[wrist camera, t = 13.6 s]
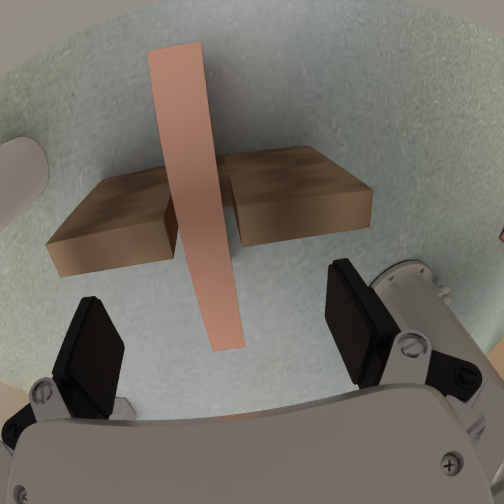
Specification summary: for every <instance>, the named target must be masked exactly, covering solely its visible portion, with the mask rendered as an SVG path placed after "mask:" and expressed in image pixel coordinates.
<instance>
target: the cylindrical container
mask: <svg viewBox="0 0 504 504" xmlns="http://www.w3.org/2000/svg"><path fill="white" fill-rule="evenodd" d="M48 175H49V167H48V161H47V158H46V155H45V153H44V151H43V149H42V148H41V146H40V145H39V144H38V143H37V142H36V141H35V140H33V139H31V138H29V137H18V138H15V139H12V140H10V141H8V142H5V143H3V144H1V145H0V232H1V231H2V230H3V229H4V228H5V227H6V226H7V225H8V224H9V223H10V222H11V221H12V220H13V219H14V218H15V217H16V216H17V215H18V214H20V213H21V212H22V211H23V210H24V209H25V208H26V207H27V206H28V205H29V204H31V203H32V202H33V201H34V200H35V199H36V198H37V197H39V196H40V195H41V193H42V192H43V191H44V189H45V187H46V184H47V181H48Z"/></svg>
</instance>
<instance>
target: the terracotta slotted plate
mask: <svg viewBox="0 0 504 504" xmlns="http://www.w3.org/2000/svg"><path fill="white" fill-rule="evenodd" d="M147 53H148V61H149V69H150V77H151V84H152V91H153V98H154V104H155V110H156V117H157V123H158V128H159V134H160V140H161V145H162V151H163V156H164V161H165V166H166V171H167V176H168V181H169V186H170V191H171V195H172V200H173V204H174V209H175V213H176V218H177V222H178V226H179V230H180V235H181V239H182V243H183V247H184V251H185V255H186V259H187V263H188V267H189V270H190V274H191V278H192V282H193V285H194V289H195V293H196V296H197V300H198V303H199V307H200V310H201V314H202V317H203V321H204V324H205V327H206V331H207V334H208V337H209V341H210V344H211V347H212V350H213V352H215V351H222V350H228V349H235V348H241V347H245V341H244V335H243V330H242V324H241V318H240V312H239V306H238V300H237V294H236V288H235V282H234V275H233V269H232V263H231V257H230V250H229V244H228V238H227V231H226V225H225V218H224V211H223V206H222V199H221V192H220V185H219V178H218V171H217V164H216V157H215V149H214V142H213V134H212V127H211V119H210V112H209V104H208V96H207V88H206V80H205V71H204V63H203V56H202V48H201V42H194V43H188V44H182V45H177V46H172V47H167V48H162V49H157V50H153V51H149V52H147Z"/></svg>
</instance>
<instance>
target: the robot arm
mask: <svg viewBox="0 0 504 504" xmlns="http://www.w3.org/2000/svg"><path fill="white" fill-rule="evenodd" d="M449 292H450V287H449V285H444V286H441V287H439V288H438V287H437V286H436V285H435V284H434V283H433V276H432V273H431V271H430V269H429V268H428V267H427V266H426V265H425V264H423V263H422V262H419V261H407V262H403V263H400V264H398V265H395V266H394V267H392V268H390V269H388V270H387V271H386V272H384V273H383V274H382V275H381V276H380V277H379V278H378V279H376V280H375V282H374V283H373V284H372V285H371V286H368V287H367V285H366V284H365V282H364V281H363V279H362V278H361V276H360V275H359V273H358V272H357V271H356V269H355V268H354V266H353V265H352V263H351V262H350V261H349V259H348V258H343V259H338V260H334V261H333V262H332V264H330V265H329V267H328V281H327V294H326V306H325V319H326V322H327V324H328V327H329V329H330V331H331V333H332V336H333V338H334V340H335V343H336V345H337V347H338V350H339V352H340V354H341V356H342V359H343V361H344V363H345V366H346V368H347V371H348V373H349V375H350V378H351V380H352V382H353V384H354V385H356V384H358V386H359V389H360V390H356V391H351V392H348V393H344V394H340V395H336V396H332V397H328V398H323V399H319V400H314V401H310V402H305V403H301V404H296V405H291V406H286V407H280V408H275V409H269V410H263V411H256V412H250V413H242V414H235V415H226V416H217V417H207V418H194V419H177V420H109V416H110V415H112V413H113V408H114V402H115V396H116V390H117V385H118V379H119V374H120V369H121V364H122V359H123V355H124V349H125V348H124V343H123V341H122V339H121V337H120V336H119V334H118V332H117V330H116V328H115V326H114V325H113V323H112V321H111V319H110V317H109V315H108V313H107V311H106V309H105V307H104V306H103V304H102V302H101V300H100V299H97V297H95V296H91V297H83V298H82V299H81V301H80V303H79V306H78V308H77V310H76V312H75V315H74V317H73V319H72V321H71V324H70V326H69V329H68V331H67V333H66V336H65V338H64V341H63V343H62V346H61V349H60V351H59V354H58V356H57V359H56V362H55V365H54V367H53V370H52V374H53V378H52V379H51V378H48V377H45V378H41V379H39V380H37V381H36V382H35V383H34V384H33V386H32V387H31V389H30V392H29V400H30V403H29V404H28V405H26V406H25V407H24V408H23V409H21V410H20V411H19V412H17V413H16V414H15V415H14V416H12V417H11V418H10V419H9V420H7V421H6V422H5V424H4V426H3V428H2V434H1V435H2V441H1V440H0V504H504V381H503V379H502V378H501V377H500V376H499V374H498V373H497V371H496V370H495V368H494V367H493V366H492V365H491V363H490V362H489V360H488V359H487V357H486V356H485V355H484V353H483V352H482V350H481V349H480V348H479V347H478V345H477V344H476V342H475V341H474V340H473V338H472V337H471V336H470V334H469V333H468V332H467V331H466V329H465V328H464V327H463V325H462V324H461V323H460V321H459V320H458V319H457V318H456V316H455V315H454V314H453V313H452V311H451V310H450V309H449V308H448V307H447V306H448V305H450V304H451V296H450V295H449V294H447V293H449Z"/></svg>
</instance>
